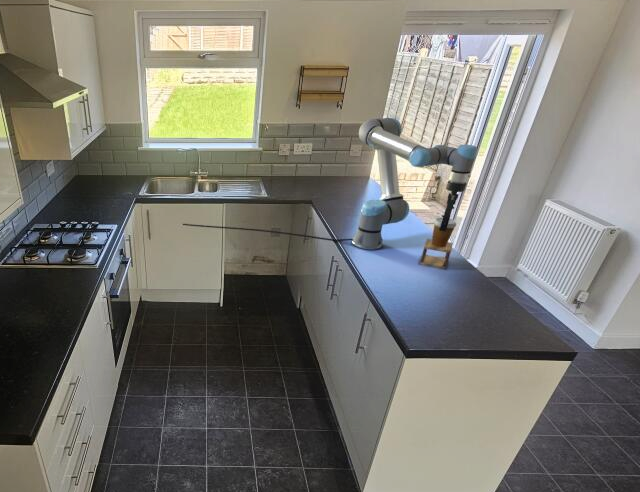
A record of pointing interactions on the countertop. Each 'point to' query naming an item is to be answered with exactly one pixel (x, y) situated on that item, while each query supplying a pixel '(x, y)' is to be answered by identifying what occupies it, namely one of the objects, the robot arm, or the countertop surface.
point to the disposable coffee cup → (442, 232)
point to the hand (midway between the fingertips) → (443, 226)
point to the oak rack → (434, 260)
